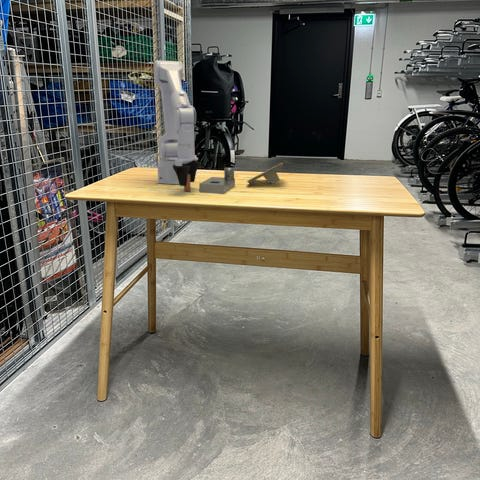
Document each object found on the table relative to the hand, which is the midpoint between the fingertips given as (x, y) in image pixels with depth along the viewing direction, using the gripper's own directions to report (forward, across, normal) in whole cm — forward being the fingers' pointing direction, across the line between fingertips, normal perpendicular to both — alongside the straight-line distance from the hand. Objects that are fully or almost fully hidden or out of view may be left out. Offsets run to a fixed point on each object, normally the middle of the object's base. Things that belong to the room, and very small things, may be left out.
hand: (187, 184), depth 148 cm
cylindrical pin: (+3, 0, 0) cm, 3 cm away
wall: (+3, +22, -23) cm, 32 cm away
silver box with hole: (+3, +7, -9) cm, 12 cm away
